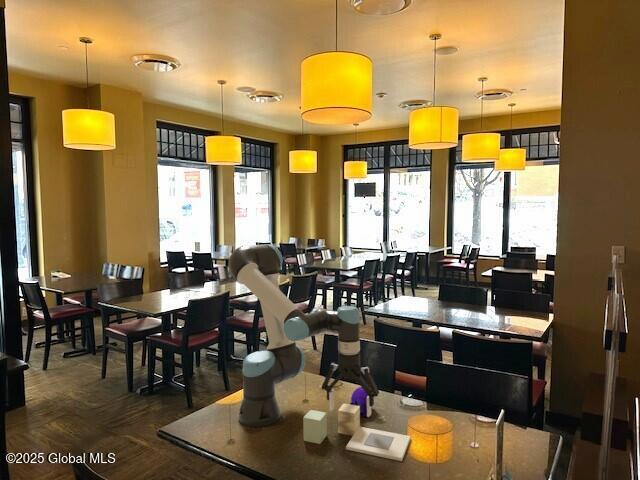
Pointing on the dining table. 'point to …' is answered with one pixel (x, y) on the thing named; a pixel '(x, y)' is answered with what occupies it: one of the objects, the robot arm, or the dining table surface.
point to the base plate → (379, 443)
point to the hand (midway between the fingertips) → (350, 412)
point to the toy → (360, 400)
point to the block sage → (315, 426)
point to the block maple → (348, 419)
